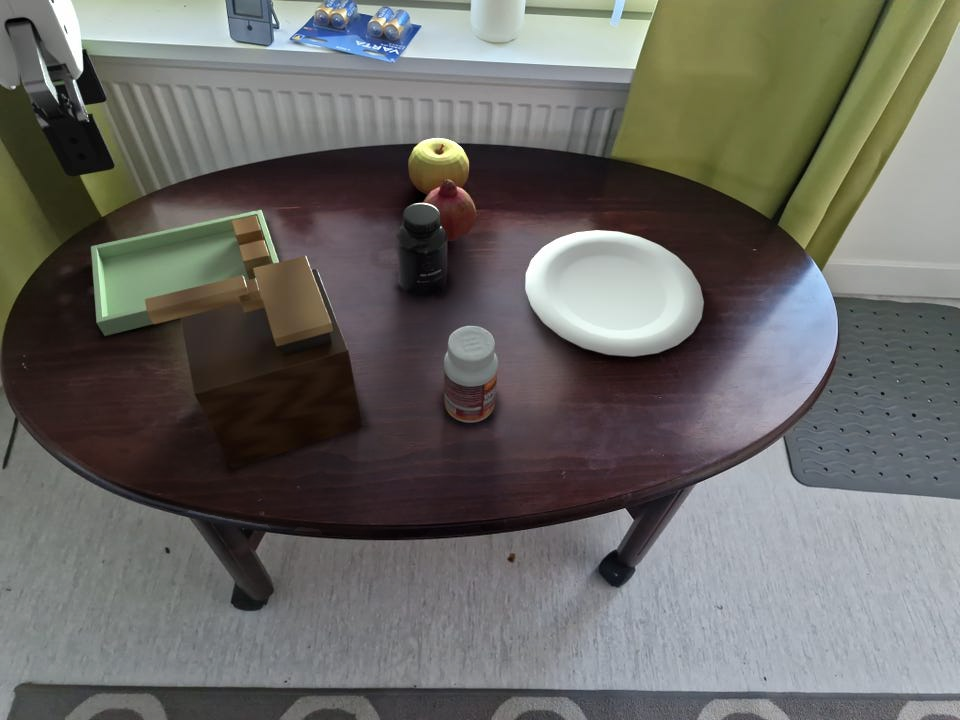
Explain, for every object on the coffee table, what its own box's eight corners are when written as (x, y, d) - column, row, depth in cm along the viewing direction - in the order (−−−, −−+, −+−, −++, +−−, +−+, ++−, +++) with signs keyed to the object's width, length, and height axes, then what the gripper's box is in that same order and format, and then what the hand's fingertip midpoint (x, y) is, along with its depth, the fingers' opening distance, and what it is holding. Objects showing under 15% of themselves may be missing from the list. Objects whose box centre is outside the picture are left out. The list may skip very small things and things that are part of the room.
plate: (514, 239, 99) (515, 230, 97) (674, 236, 101) (677, 227, 99) (535, 366, 83) (537, 358, 82) (724, 360, 85) (728, 352, 84)
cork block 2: (249, 280, 90) (243, 261, 88) (244, 264, 92) (238, 245, 90) (274, 274, 91) (269, 255, 88) (269, 258, 93) (264, 239, 90)
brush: (310, 277, 72) (300, 232, 67) (335, 344, 66) (326, 300, 61) (162, 313, 68) (140, 268, 63) (175, 389, 62) (151, 345, 57)
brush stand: (232, 468, 72) (194, 394, 61) (214, 382, 80) (177, 302, 69) (362, 426, 76) (348, 350, 65) (333, 348, 84) (316, 268, 73)
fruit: (424, 255, 96) (422, 200, 88) (420, 221, 101) (418, 165, 93) (478, 252, 96) (480, 197, 89) (471, 218, 102) (473, 163, 94)
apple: (480, 184, 107) (482, 141, 101) (446, 214, 102) (446, 170, 96) (432, 163, 111) (431, 120, 104) (397, 191, 105) (393, 148, 99)
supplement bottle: (430, 306, 89) (428, 238, 80) (389, 287, 91) (383, 219, 82) (456, 277, 93) (457, 209, 84) (416, 259, 95) (413, 191, 86)
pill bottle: (493, 426, 77) (498, 367, 68) (441, 422, 77) (440, 362, 68) (496, 385, 81) (501, 324, 72) (447, 381, 81) (446, 319, 72)
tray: (104, 336, 84) (96, 322, 82) (98, 260, 93) (90, 246, 90) (287, 290, 90) (283, 276, 88) (264, 223, 99) (261, 209, 97)
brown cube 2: (241, 254, 94) (235, 235, 91) (237, 239, 96) (231, 220, 93) (266, 248, 94) (260, 229, 92) (261, 234, 96) (256, 215, 94)
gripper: (-104, -179, 40) (34, 88, 53) (-151, -88, 30) (33, 213, 43) (32, -185, 42) (132, 74, 55) (30, -102, 32) (153, 190, 45)
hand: (89, 135), depth 49 cm, fingers open, 9 cm apart
